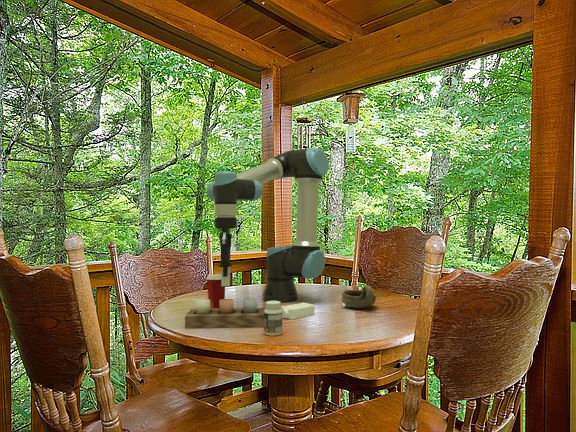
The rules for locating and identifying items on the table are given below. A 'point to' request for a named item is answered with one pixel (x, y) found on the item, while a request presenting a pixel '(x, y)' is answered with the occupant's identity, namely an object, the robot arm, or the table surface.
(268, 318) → the pill bottle
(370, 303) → the bowl
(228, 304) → the button terracotta
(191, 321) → the console
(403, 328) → the table surface
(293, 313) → the cream rectangular block
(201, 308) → the button cream
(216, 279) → the paper cup
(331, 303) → the table surface
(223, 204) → the robot arm
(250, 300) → the button slate
